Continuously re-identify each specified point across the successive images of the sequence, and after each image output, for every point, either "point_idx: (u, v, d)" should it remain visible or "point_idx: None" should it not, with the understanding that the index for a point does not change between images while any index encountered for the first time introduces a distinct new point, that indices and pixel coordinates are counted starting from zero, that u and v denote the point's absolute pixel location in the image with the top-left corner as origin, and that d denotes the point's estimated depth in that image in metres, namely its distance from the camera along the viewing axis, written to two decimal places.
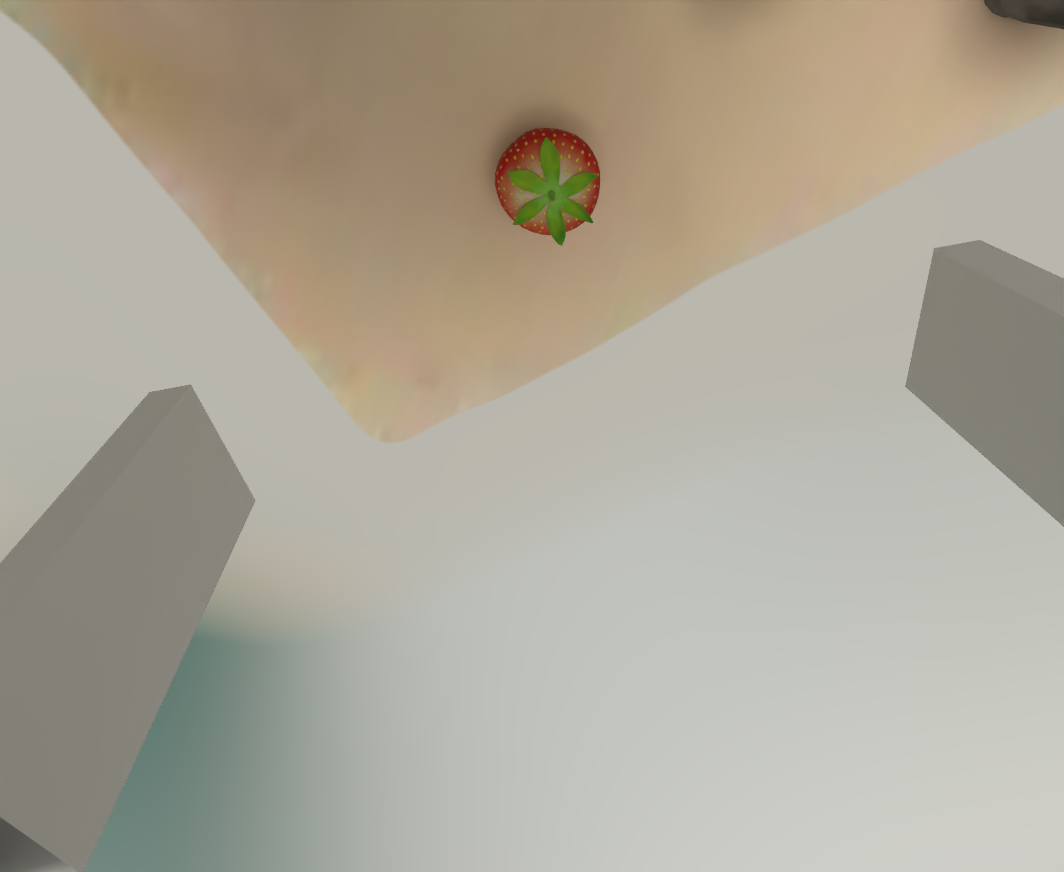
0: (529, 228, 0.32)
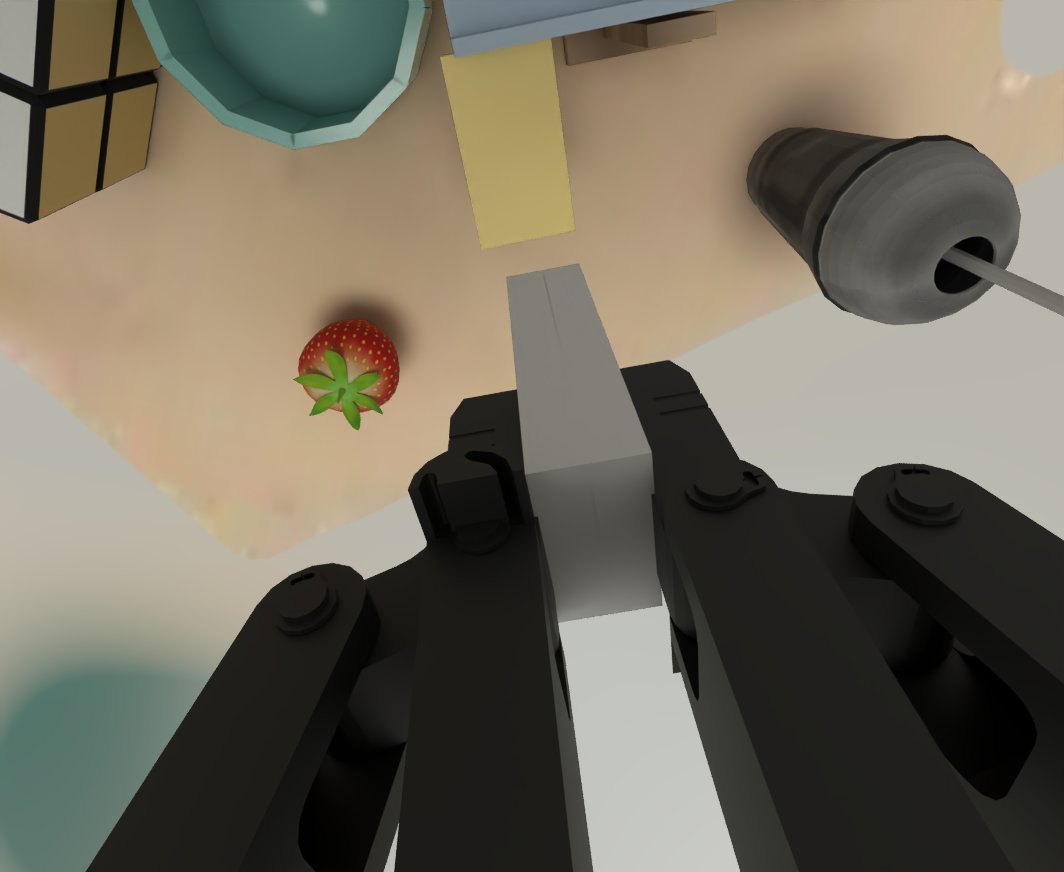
0: None
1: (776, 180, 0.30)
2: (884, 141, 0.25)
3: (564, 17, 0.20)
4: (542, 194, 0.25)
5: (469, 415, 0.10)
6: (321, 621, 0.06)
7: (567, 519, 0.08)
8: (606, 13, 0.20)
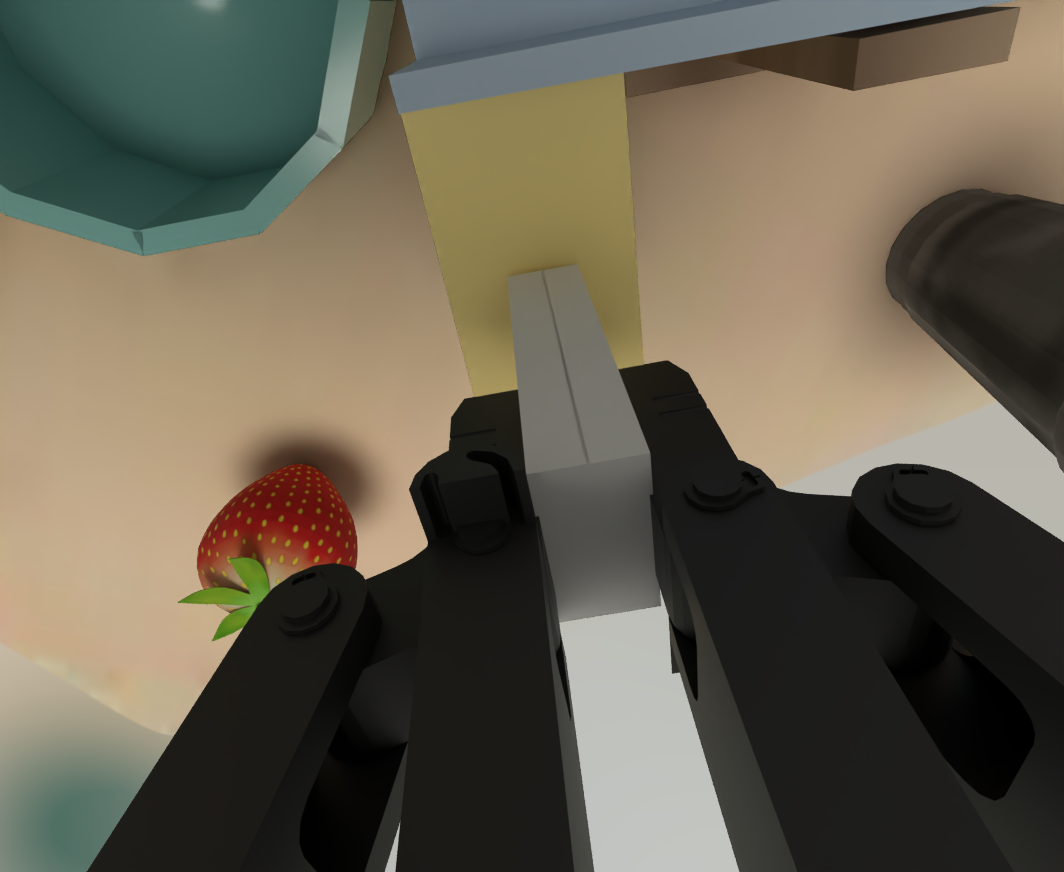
0: None
1: (969, 288, 0.18)
2: None
3: (648, 27, 0.08)
4: None
5: (469, 415, 0.10)
6: (322, 621, 0.06)
7: (568, 519, 0.08)
8: (751, 18, 0.08)
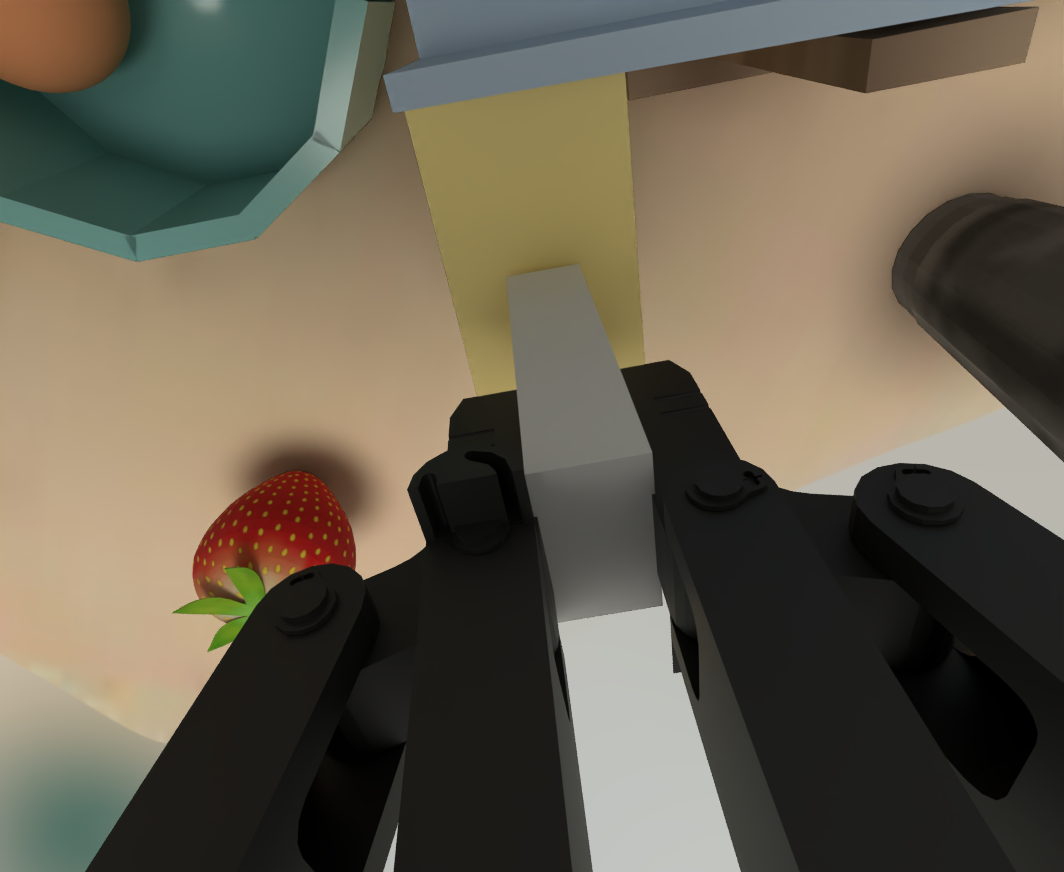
0: None
1: (978, 293, 0.18)
2: None
3: (640, 28, 0.08)
4: None
5: (468, 415, 0.10)
6: (320, 621, 0.06)
7: (566, 520, 0.08)
8: (744, 20, 0.08)
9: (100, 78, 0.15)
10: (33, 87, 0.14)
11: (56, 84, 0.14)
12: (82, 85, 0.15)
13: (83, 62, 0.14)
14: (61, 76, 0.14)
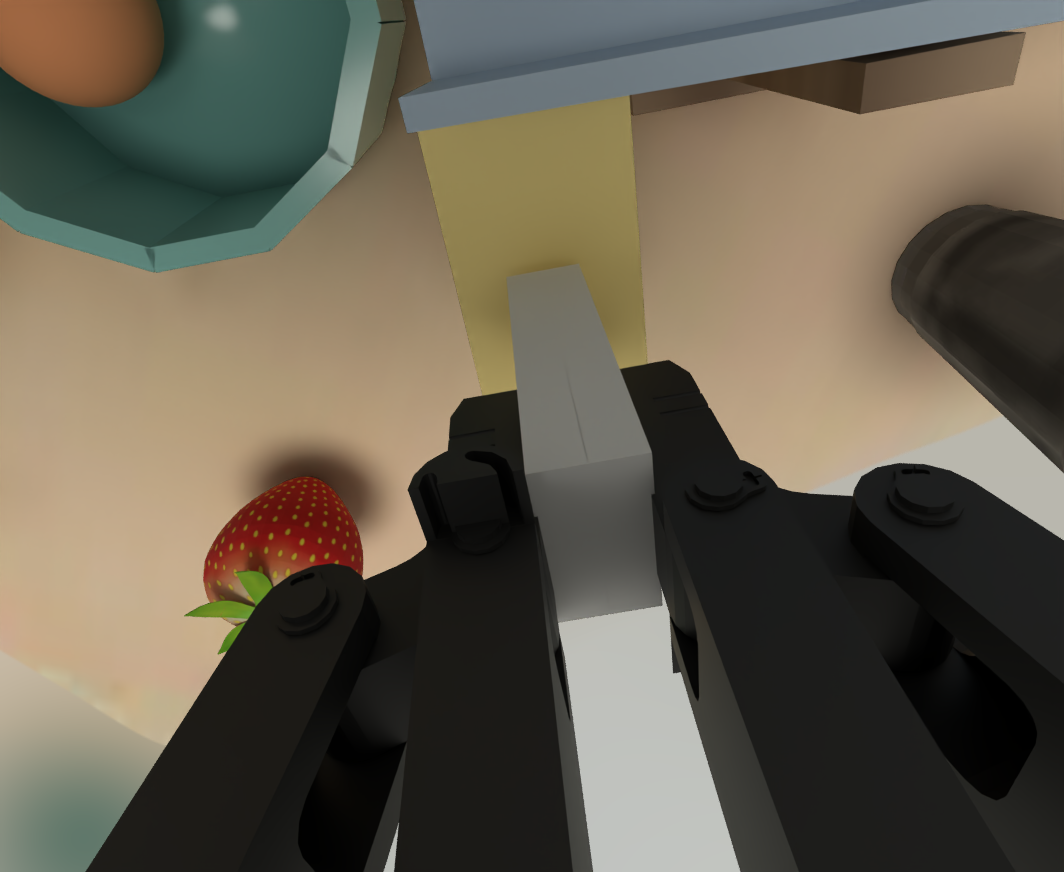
0: None
1: (975, 304, 0.18)
2: None
3: (643, 54, 0.09)
4: None
5: (469, 415, 0.10)
6: (321, 621, 0.06)
7: (567, 519, 0.08)
8: (743, 46, 0.09)
9: (137, 92, 0.16)
10: (75, 101, 0.15)
11: (100, 97, 0.15)
12: (121, 99, 0.15)
13: (129, 76, 0.15)
14: (106, 90, 0.15)
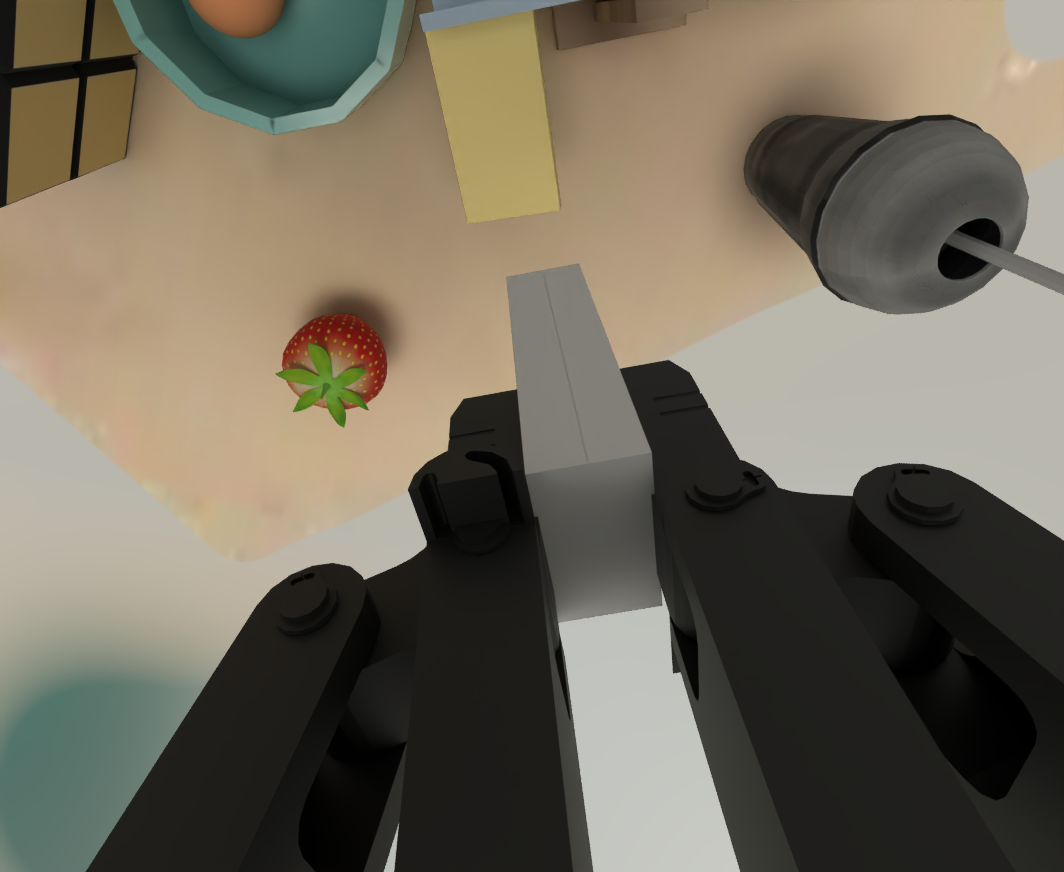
0: (319, 406, 0.34)
1: (773, 167, 0.29)
2: (885, 123, 0.24)
3: None
4: (527, 171, 0.25)
5: (469, 415, 0.10)
6: (321, 621, 0.06)
7: (567, 520, 0.08)
8: None
9: (270, 29, 0.27)
10: (240, 32, 0.26)
11: (255, 30, 0.26)
12: (262, 32, 0.26)
13: (272, 18, 0.26)
14: (260, 25, 0.26)
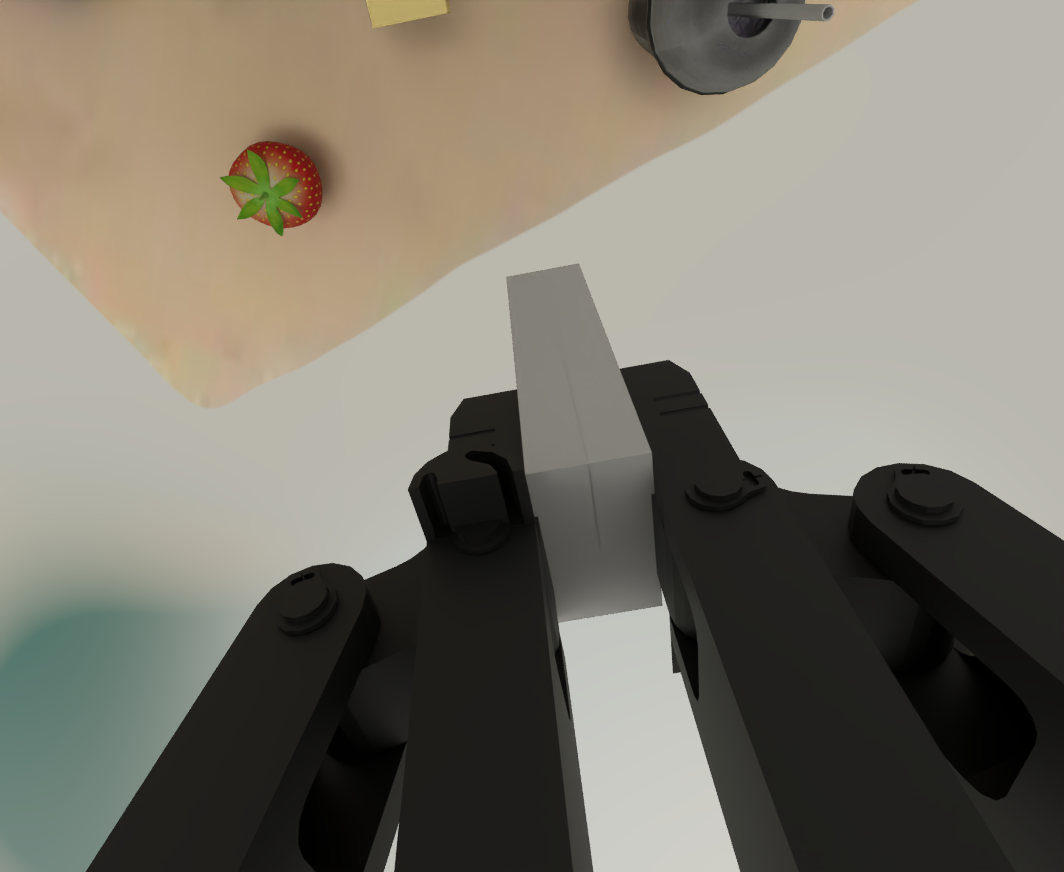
0: (262, 222, 0.39)
1: None
2: None
3: None
4: None
5: (469, 415, 0.10)
6: (321, 621, 0.06)
7: (567, 519, 0.08)
8: None
9: None
10: None
11: None
12: None
13: None
14: None
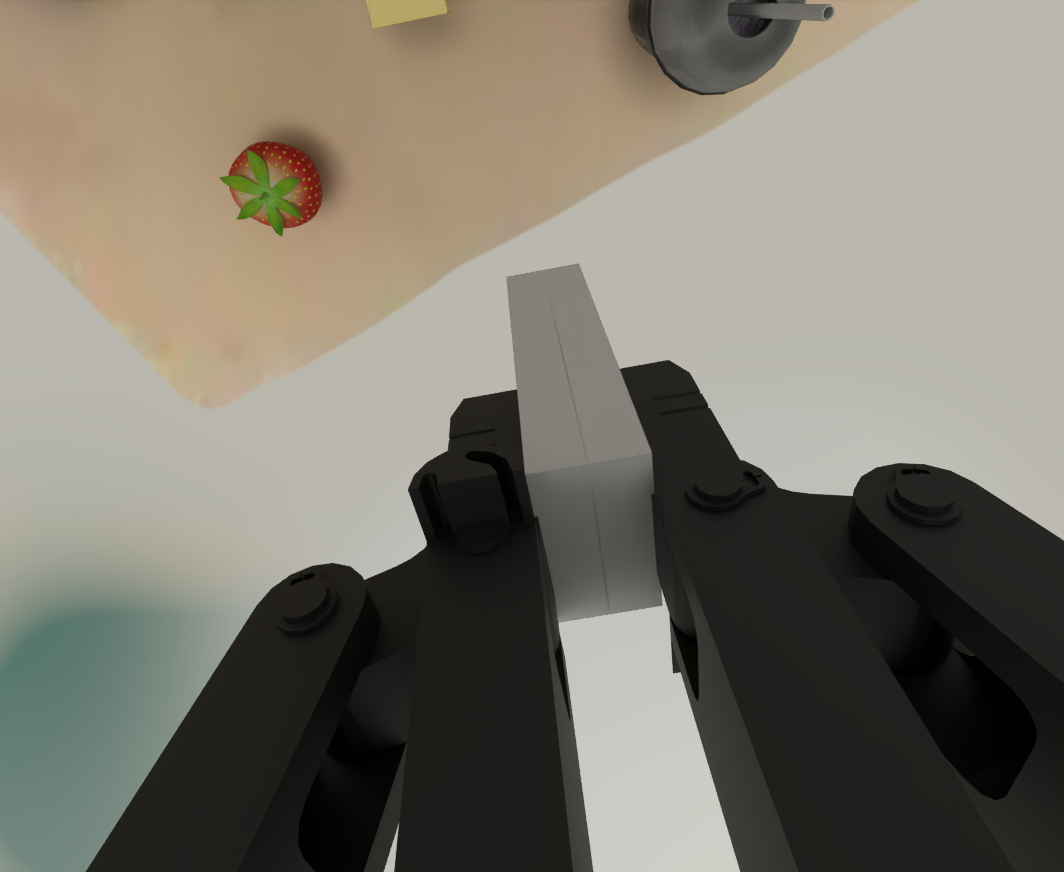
0: (262, 222, 0.39)
1: None
2: None
3: None
4: None
5: (469, 415, 0.10)
6: (321, 622, 0.06)
7: (567, 519, 0.08)
8: None
9: None
10: None
11: None
12: None
13: None
14: None
